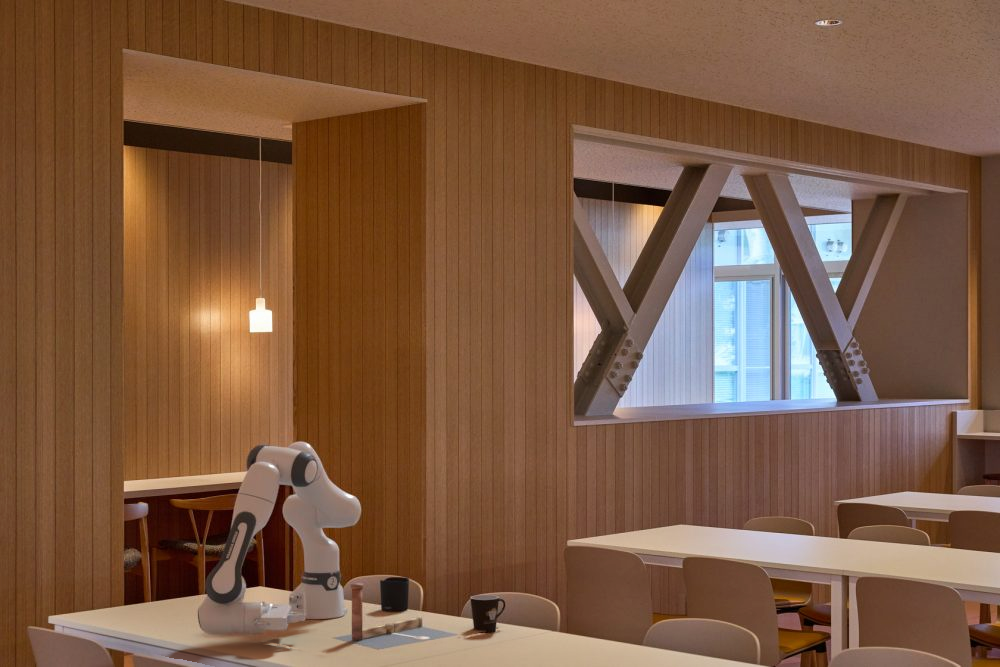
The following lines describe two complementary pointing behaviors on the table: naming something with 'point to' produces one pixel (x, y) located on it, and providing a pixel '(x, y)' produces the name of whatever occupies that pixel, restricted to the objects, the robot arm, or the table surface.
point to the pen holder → (394, 594)
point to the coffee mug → (485, 612)
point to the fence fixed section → (403, 625)
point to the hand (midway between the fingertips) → (305, 616)
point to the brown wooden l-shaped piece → (357, 616)
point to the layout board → (398, 637)
